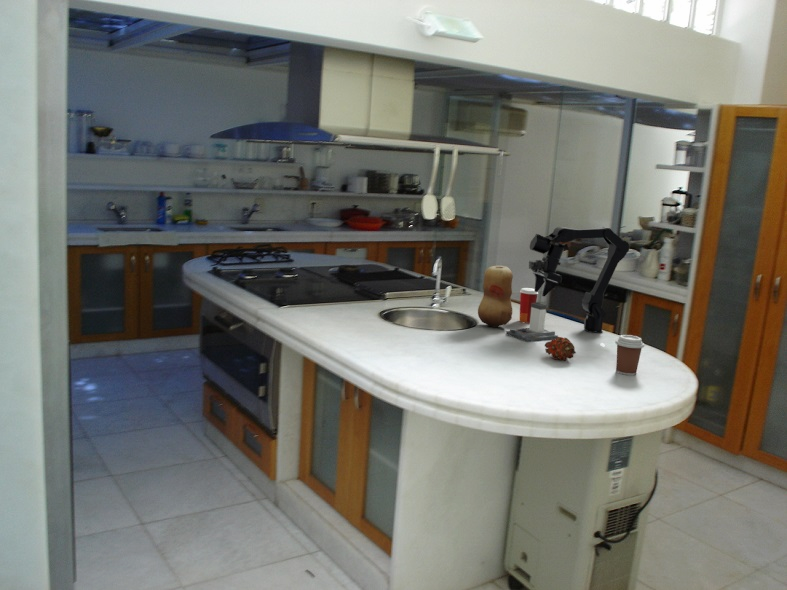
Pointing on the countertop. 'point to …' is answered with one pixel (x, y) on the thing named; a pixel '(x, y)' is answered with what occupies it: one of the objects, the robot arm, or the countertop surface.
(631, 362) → the coffee cup
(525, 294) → the paper cup
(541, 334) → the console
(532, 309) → the plate
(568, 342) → the dragon fruit
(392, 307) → the countertop surface
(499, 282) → the butternut squash
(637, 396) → the countertop surface
